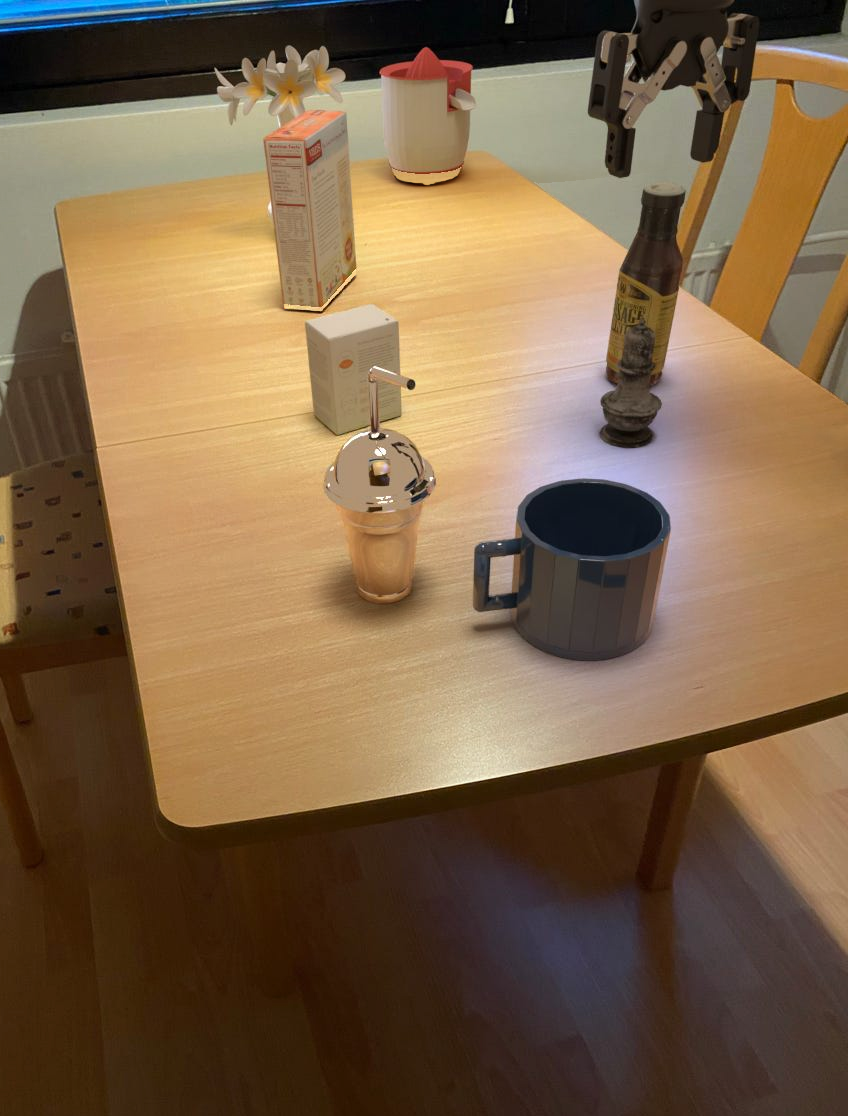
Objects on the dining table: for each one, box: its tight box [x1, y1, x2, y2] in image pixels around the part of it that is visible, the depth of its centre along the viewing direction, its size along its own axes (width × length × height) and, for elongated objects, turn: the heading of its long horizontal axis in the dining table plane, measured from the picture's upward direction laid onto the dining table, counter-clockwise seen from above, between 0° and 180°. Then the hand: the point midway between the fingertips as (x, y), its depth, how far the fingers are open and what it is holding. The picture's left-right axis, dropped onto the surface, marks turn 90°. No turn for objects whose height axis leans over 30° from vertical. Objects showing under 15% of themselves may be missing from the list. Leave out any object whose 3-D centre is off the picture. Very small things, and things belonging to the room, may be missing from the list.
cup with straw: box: [322, 366, 437, 604], centre depth 72 cm, size 8×9×20 cm
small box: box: [304, 303, 403, 436], centre depth 99 cm, size 8×6×10 cm
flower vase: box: [214, 45, 346, 227], centre depth 142 cm, size 13×18×25 cm
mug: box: [472, 477, 672, 661], centre depth 72 cm, size 14×11×9 cm
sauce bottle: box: [605, 181, 687, 387], centre depth 99 cm, size 7×6×20 cm
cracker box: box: [262, 109, 357, 307], centre depth 124 cm, size 14×6×21 cm, turn 161°
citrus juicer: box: [379, 46, 477, 174], centre depth 165 cm, size 16×17×20 cm
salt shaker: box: [599, 317, 663, 449], centre depth 92 cm, size 6×6×12 cm
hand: (660, 167), depth 81 cm, fingers open, 8 cm apart
